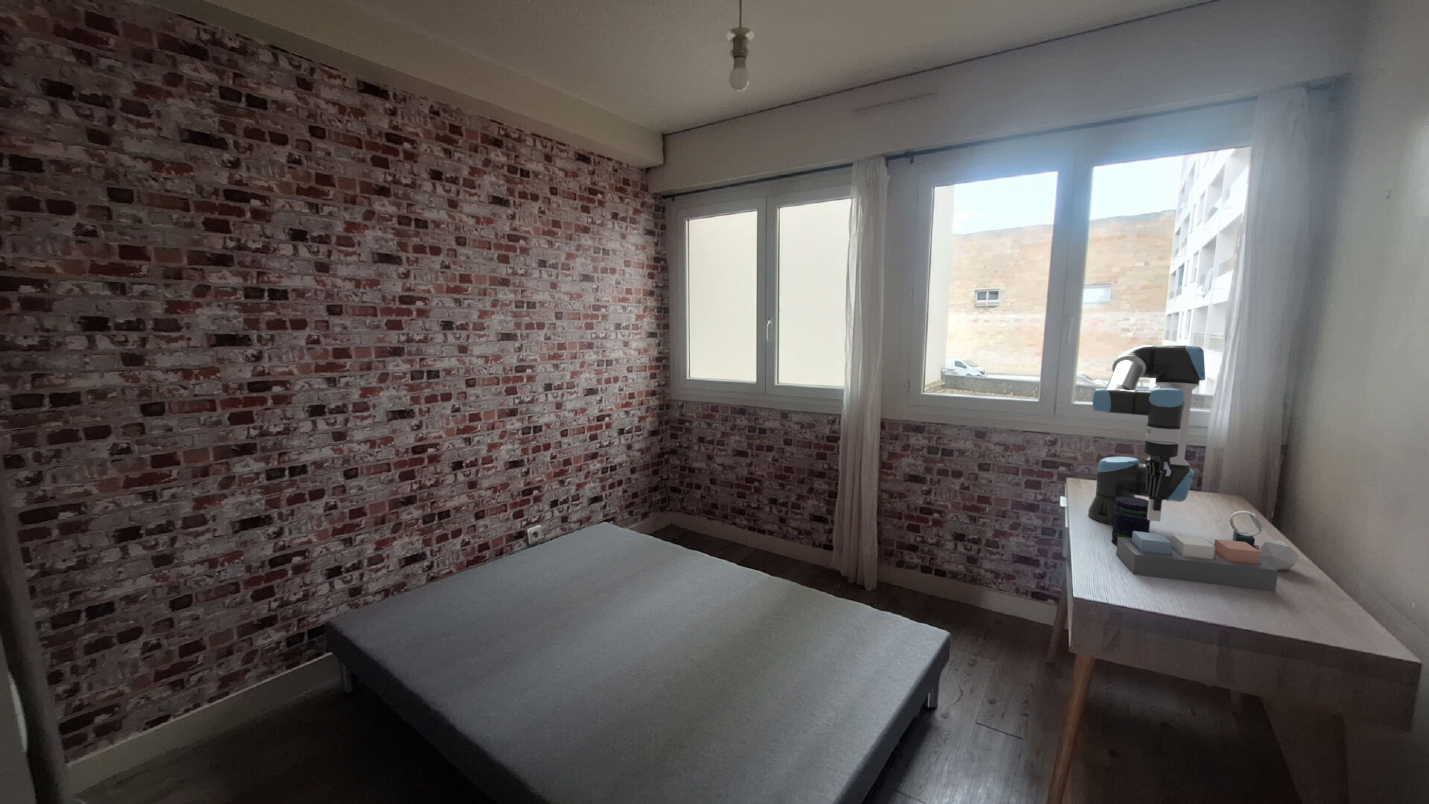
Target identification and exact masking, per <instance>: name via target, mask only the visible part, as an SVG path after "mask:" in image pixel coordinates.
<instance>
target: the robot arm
mask: <svg viewBox="0 0 1429 804" xmlns="http://www.w3.org/2000/svg"><path fill="white" fill-rule="evenodd" d="M1111 369H1112V374H1111V376H1110V378H1109V380H1108V382H1107V385H1106V387H1105V388H1096V389H1095V390H1094V392H1093V397H1092V409H1093V410H1094V411H1095V412H1098V413H1106V414H1118V415H1119V414H1122V415H1131V416H1133V415H1135V416H1146V417H1147V423H1146V429H1144V433H1145V440H1146V441H1144V449H1143V450H1144V451H1143V452H1144V453H1145V454H1146V455H1148V456H1149V457H1147V458H1146V460H1145V461H1144V463H1140V461H1139V459H1138V458H1136V457H1130V456H1110V457H1109V456H1108V457H1104V458H1102V459H1100V460H1099V462H1098V467H1097V470H1096V471H1097V475H1096V477H1097V478H1096V488H1095V497H1094V498H1093V500H1092V502H1091V504H1090V506H1089V507H1088V511H1087V516H1088V517H1089V518H1091V519H1093V520H1095V521H1097V522H1101V523H1103V524H1108V525H1109V524H1110V525H1112V526H1113V525H1114V519H1115V515H1114V510H1115V509H1114V506H1115V502H1116V501H1115V500H1116V497H1119V496H1129V497H1136V496H1138V497H1145V498H1148V501H1149V503H1148V512H1147V519H1148V520H1151V521H1152V522H1154V521H1155V522H1161V518H1162V507H1163V501H1166V502H1180V503H1182V502H1184V501H1186V500H1187V497H1188V495H1189V491H1190V488H1191V486H1192V485H1191V484H1192V481H1193V478H1194V474H1195V470H1193V469H1191V468H1190V466H1191V465H1190V463H1189V462H1188V461H1187V460H1186V459H1185V458H1186V456H1185V455H1186V450H1187V449H1186V448H1187V439H1188V430H1189V422H1190V413H1191V404H1192V397H1193V396H1192V395H1193V391H1194V390H1195V389H1196V388H1198V387H1199V386H1200V382H1201V381H1205V380H1206V371H1205V370H1206V369H1205V352H1204V349H1203V348H1202V347H1201V346H1197V345H1196V346H1194V345H1186V344H1185V345H1150V344H1149V345H1141V346H1137V347H1134V348H1131V349H1129V350H1126V351H1125V352H1123V353H1121V354H1120V355H1119V356H1117V357H1116V358H1115V360H1114V362H1113V364H1112V367H1111ZM1141 378H1144V379H1146V378H1149V379H1155V382H1154V384H1155V385H1156V386H1157V387H1153V388H1152V389H1151V390H1150V391H1149V390H1148V391H1147V390H1136V388H1137V385H1138V384H1139V380H1140V379H1141ZM1151 521H1150V522H1151Z"/></svg>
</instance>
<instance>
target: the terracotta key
mask: <svg viewBox="0 0 1429 804" xmlns="http://www.w3.org/2000/svg"><path fill="white" fill-rule="evenodd" d="M1213 546H1214V547H1215V550H1214V552H1215V553H1216V554H1217V555H1219V556H1220V557H1221V558H1223V559H1224V560H1225V561H1233V562H1242V563H1251V564H1259V557H1260V551H1258V550H1259V549H1257V548H1256V547H1255V546H1254V547H1252V546H1251V545H1249V544H1248V543H1246V542H1239V541H1233V540H1226V539H1219V538H1218V539H1217V538H1215V539H1214V543H1213Z"/></svg>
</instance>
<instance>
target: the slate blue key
mask: <svg viewBox="0 0 1429 804" xmlns="http://www.w3.org/2000/svg"><path fill="white" fill-rule="evenodd" d="M1171 542H1172V541H1170V540H1169V539H1168V538H1167V537H1166V536H1164V535H1163V534H1162V533H1156V532H1150V533H1148V532H1137V531H1133V535H1132V544H1133V545H1134V546H1135V547H1136V548H1137V549H1138V550H1139V551H1140V552H1150V553H1159V554H1168V555H1170V551H1171Z"/></svg>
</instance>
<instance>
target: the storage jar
mask: <svg viewBox="0 0 1429 804" xmlns="http://www.w3.org/2000/svg"><path fill="white" fill-rule="evenodd" d="M1115 501H1116V502H1115V506H1114V509H1115V510H1114V515H1115V519H1114V525H1113V524H1112V530H1111V543H1112V544H1113V545H1115V546H1117V541H1118V537H1125V538H1132V535H1133V531H1137V532H1148V533H1151V531H1150V525H1151V520H1148V519H1147V512H1148V503H1149V499H1145V498H1142V497H1141V498H1140V497H1136V496H1135V497H1129V496H1119V497H1116V500H1115Z"/></svg>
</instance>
